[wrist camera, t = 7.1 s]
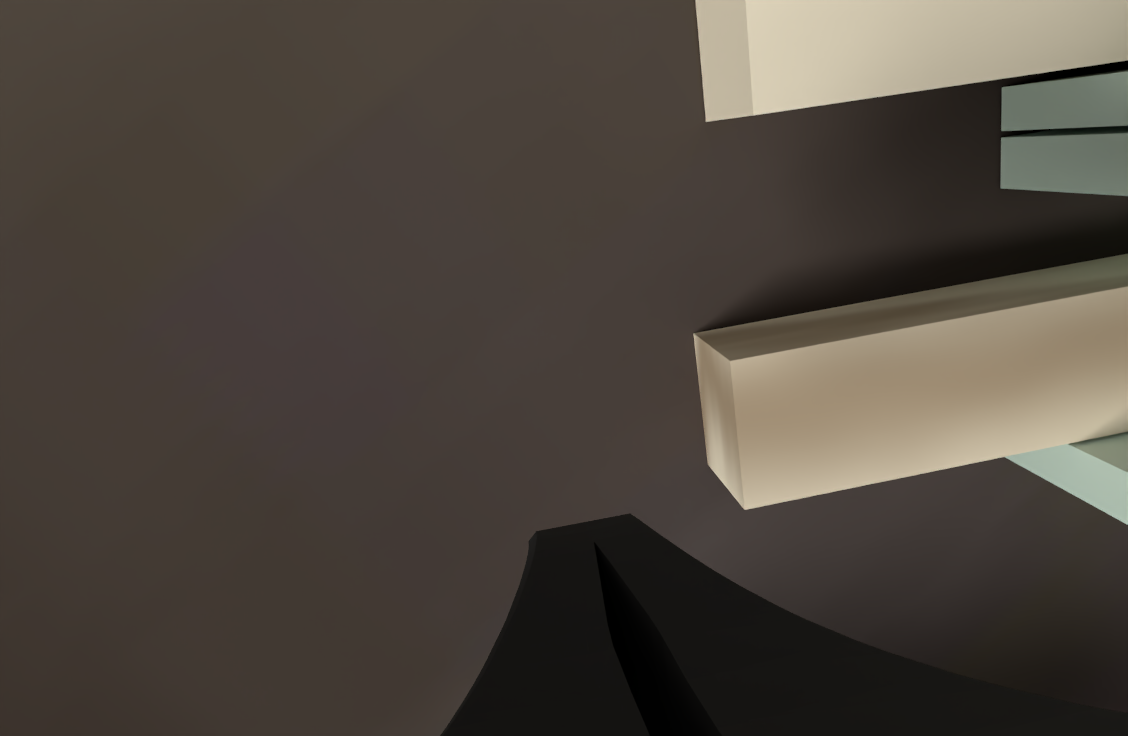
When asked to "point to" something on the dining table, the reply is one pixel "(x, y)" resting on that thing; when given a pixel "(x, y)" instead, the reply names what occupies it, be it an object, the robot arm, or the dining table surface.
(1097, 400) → the slat
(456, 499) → the dining table surface
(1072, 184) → the endcap
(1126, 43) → the endcap with seated slat
